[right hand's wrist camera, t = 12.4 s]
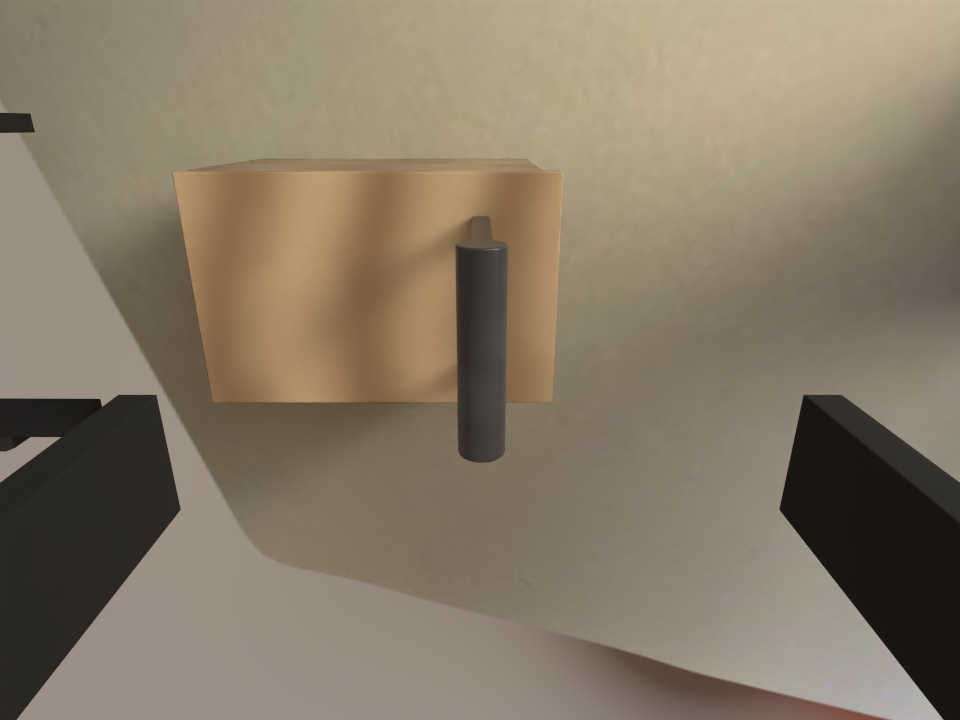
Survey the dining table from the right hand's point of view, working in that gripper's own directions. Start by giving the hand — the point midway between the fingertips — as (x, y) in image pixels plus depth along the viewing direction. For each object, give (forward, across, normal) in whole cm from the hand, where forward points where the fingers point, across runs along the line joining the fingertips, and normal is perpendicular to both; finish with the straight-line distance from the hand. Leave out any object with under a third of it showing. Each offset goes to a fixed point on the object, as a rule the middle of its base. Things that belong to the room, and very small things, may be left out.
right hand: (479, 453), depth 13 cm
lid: (+14, -4, 0) cm, 14 cm away
